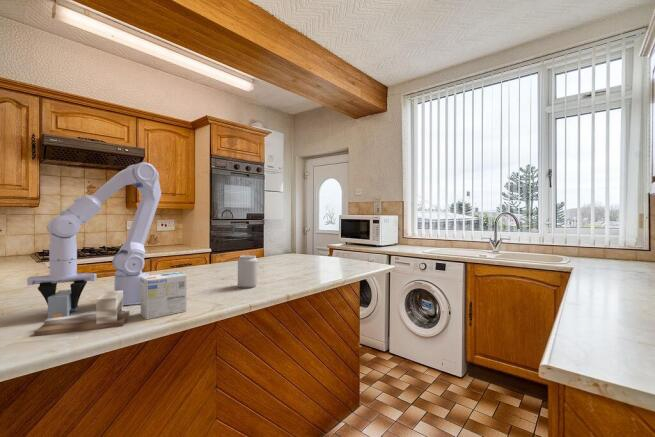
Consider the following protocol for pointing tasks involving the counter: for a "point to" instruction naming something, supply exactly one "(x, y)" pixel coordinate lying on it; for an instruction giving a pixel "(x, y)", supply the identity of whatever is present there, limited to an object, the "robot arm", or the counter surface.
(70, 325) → the board
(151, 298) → the light bulb box
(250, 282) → the can
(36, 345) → the counter surface
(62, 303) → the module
